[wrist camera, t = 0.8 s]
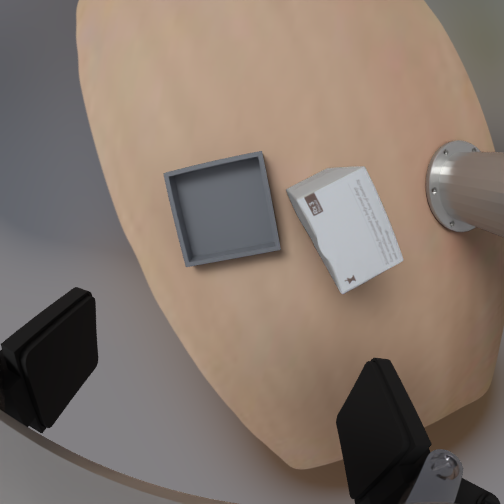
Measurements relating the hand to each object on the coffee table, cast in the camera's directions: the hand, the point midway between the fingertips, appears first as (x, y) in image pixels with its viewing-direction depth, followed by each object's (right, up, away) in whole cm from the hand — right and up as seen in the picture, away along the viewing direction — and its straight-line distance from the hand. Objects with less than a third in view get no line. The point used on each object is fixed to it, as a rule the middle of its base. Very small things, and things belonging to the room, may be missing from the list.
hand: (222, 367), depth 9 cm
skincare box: (+9, +9, +26) cm, 29 cm away
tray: (-2, +9, +26) cm, 28 cm away
